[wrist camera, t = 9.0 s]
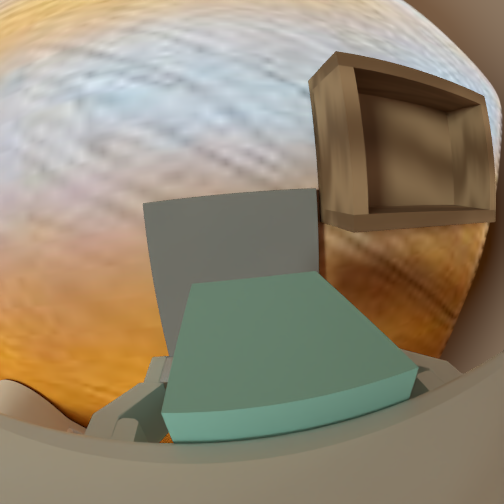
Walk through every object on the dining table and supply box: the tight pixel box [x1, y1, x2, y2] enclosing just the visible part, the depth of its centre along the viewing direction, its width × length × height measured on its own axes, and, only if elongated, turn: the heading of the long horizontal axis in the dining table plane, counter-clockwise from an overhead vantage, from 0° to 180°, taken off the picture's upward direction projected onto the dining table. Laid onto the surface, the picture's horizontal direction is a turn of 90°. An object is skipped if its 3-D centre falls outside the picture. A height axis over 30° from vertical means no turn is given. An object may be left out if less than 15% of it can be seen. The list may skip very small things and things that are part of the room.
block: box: [161, 271, 419, 443], centre depth 8 cm, size 5×5×7 cm
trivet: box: [143, 188, 319, 356], centre depth 20 cm, size 12×12×1 cm
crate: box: [308, 51, 496, 233], centre depth 17 cm, size 11×15×6 cm
